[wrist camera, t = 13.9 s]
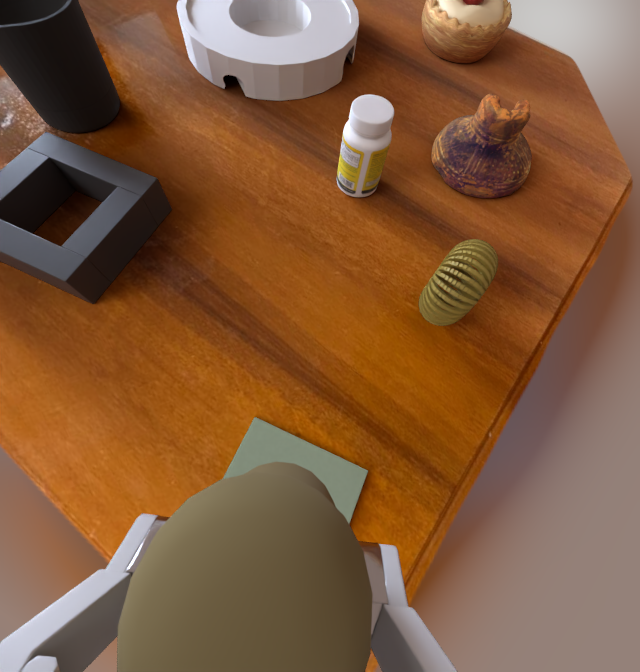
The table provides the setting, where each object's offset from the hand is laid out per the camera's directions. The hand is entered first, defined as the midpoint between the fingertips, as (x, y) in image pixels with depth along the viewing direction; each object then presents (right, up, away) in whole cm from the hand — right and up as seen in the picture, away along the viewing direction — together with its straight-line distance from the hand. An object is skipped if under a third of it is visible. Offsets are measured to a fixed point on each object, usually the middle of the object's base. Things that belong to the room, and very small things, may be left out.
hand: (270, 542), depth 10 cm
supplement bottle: (+6, +24, +27) cm, 37 cm away
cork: (-1, -3, +6) cm, 7 cm away
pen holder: (-26, +33, +28) cm, 51 cm away
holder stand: (-22, +17, +22) cm, 36 cm away
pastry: (+22, +50, +39) cm, 67 cm away
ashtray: (-5, +47, +36) cm, 59 cm away
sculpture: (+13, +9, +22) cm, 27 cm away
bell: (+21, +27, +30) cm, 46 cm away
